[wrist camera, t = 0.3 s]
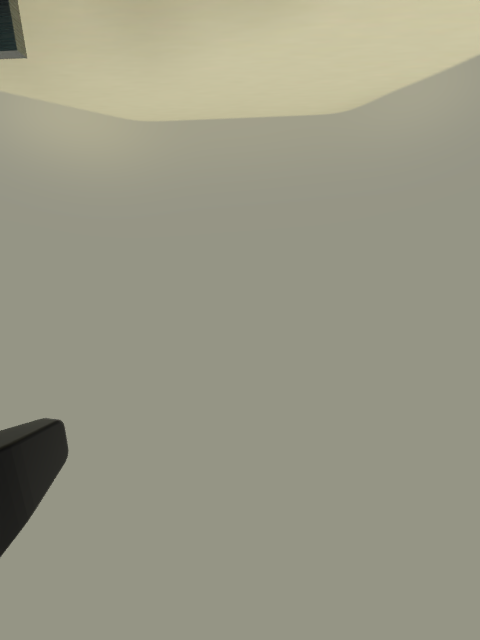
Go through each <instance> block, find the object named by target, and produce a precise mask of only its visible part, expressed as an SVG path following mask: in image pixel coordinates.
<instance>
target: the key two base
mask: <svg viewBox="0 0 480 640" xmlns="http://www.w3.org/2000/svg"><path fill="white" fill-rule="evenodd" d="M16 58H27V54H26V48H25V42H24V36H23V30H22V25H21V19H20V13H19V7H18V1H17V0H0V59H16Z"/></svg>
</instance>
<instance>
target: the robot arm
mask: <svg viewBox="0 0 480 640" xmlns="http://www.w3.org/2000/svg"><path fill="white" fill-rule="evenodd" d="M67 456H68V444H67V439H66V432H65V427H64V423H63V422H62V421H61V420H57V419H49V418H43V419H39V420H35V421H32V422H29V423H25V424H22V425H18V426H15V427H12V428H8V429H5V430H1V431H0V557H1V556H2V554H3V553H4V552H5V551H6V549H7V548H8V547H9V545H10V544H11V543H12V541H13V540H14V539H15V538H16V536H17V535H18V533H19V532H20V531H21V530H22V528H23V527H24V526H25V524H26V523H27V522H28V520H29V519H30V517H31V516H32V514H33V513H34V511H35V510H36V508H37V507H38V505H39V503H40V502H41V500H42V499H43V497H44V495H45V494H46V492H47V491H48V489H49V487H50V486H51V484H52V483H53V481H54V479H55V478H56V476H57V475H58V473H59V471H60V470H61V468H62V466H63V465H64V463H65V462H66V459H67Z"/></svg>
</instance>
